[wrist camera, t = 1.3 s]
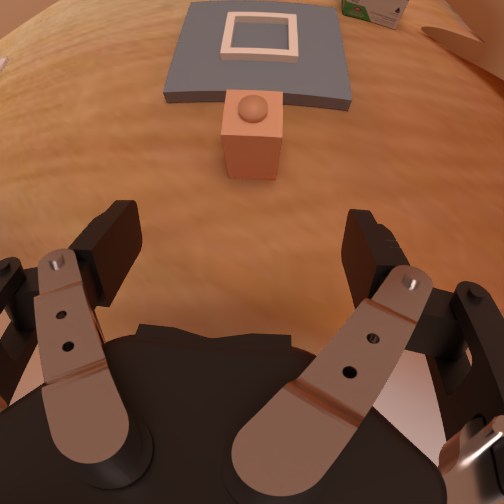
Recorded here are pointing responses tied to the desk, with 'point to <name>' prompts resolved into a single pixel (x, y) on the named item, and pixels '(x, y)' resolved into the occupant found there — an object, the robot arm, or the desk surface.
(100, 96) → the desk surface
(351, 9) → the ink box
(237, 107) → the block
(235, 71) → the board
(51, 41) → the desk surface
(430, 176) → the desk surface
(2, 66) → the external hard drive
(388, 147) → the desk surface
